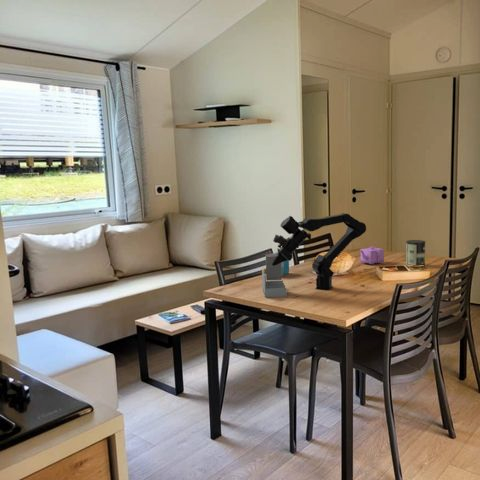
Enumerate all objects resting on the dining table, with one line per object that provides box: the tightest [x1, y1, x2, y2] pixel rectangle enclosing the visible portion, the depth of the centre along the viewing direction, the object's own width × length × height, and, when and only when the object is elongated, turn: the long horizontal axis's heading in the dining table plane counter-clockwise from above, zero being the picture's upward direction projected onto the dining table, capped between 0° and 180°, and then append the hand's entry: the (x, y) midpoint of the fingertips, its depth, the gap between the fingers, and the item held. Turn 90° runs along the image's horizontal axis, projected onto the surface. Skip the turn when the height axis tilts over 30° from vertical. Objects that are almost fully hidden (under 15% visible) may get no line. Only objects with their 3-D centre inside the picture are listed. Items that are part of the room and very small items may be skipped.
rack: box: [261, 267, 288, 298], centre depth 241 cm, size 10×16×12 cm, turn 1°
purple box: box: [359, 245, 385, 265], centre depth 303 cm, size 18×14×10 cm
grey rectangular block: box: [265, 253, 283, 281], centre depth 243 cm, size 7×3×12 cm, turn 89°
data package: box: [271, 251, 290, 276], centre depth 281 cm, size 12×4×12 cm, turn 133°
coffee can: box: [405, 239, 426, 266], centre depth 291 cm, size 10×10×14 cm
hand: (272, 264), depth 243 cm, fingers closed on grey rectangular block, 3 cm apart
